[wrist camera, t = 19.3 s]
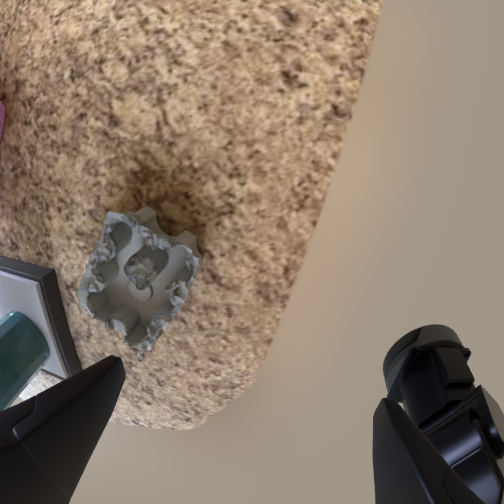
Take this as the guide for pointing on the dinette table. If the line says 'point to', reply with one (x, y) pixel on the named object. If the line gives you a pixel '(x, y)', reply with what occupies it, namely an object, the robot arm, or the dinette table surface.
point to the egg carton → (138, 277)
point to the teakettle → (2, 117)
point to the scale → (39, 310)
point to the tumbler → (19, 355)
